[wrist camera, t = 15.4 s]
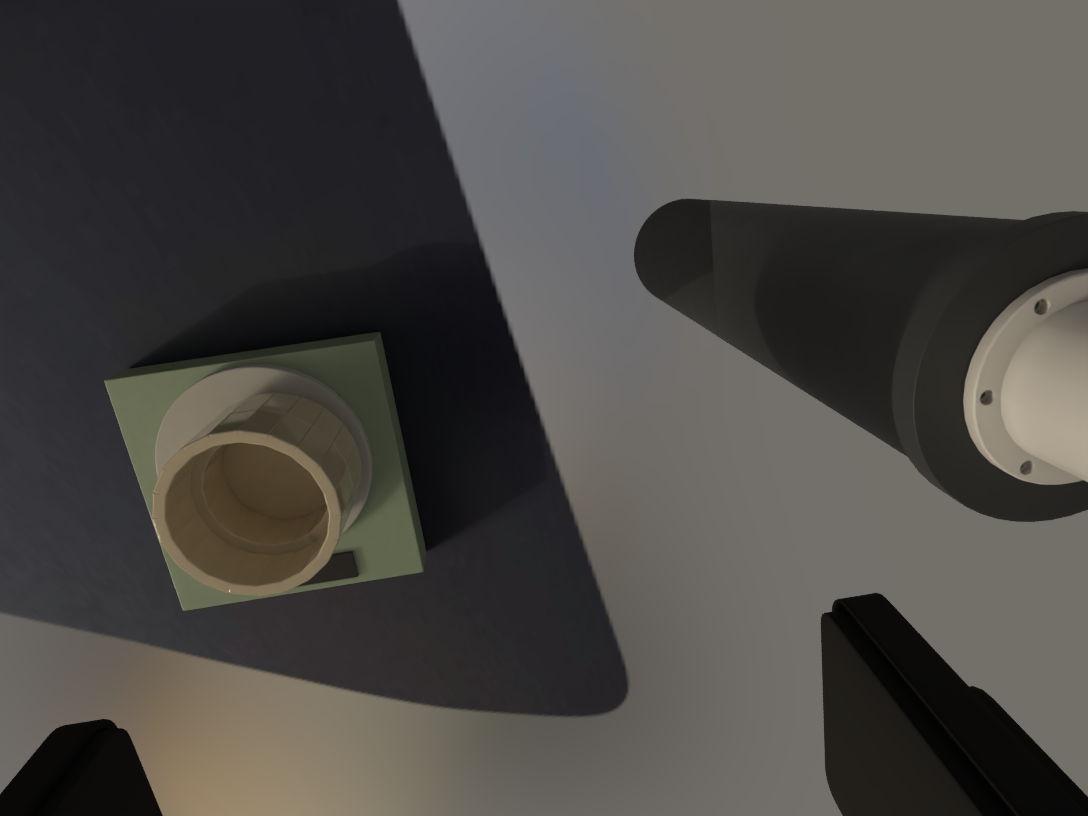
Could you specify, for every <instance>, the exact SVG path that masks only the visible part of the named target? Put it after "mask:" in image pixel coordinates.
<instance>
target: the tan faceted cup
mask: <svg viewBox="0 0 1088 816" xmlns="http://www.w3.org/2000/svg"><path fill="white" fill-rule="evenodd" d="M361 466H362V464H361V460H360V456H359V451H358V447H357V445H356V442H355V440H354V439H353V437H352V435H351V434H350V432H349V431H348V429H347V427H346V426H345V425H344V423H343V422H342V421H341V420H339V419H338V418H337V417H336V416H335V415H334V414H333V413H331V412H330V411H329V410H328V409H327V408H325V407H324V406H322V405H320V404H318V403H315V402H313V401H311V400H309V399H307V398H304V397H302V396H301V397H300V396H296V395H289V394H282V393H267V394H261V395H254V396H250V397H247V398H245V399H243V400H241V401H239V402H237V403H235V404H233V405H231V406H229V407H228V408H226V409H225V410H224V411H223V412H222V413H221V414H219V415H218V416H217V417H216V418H215V419H214V420H213V421H211V422H210V423H209V424H208V425H207V426H206V427H205V428H203V429H202V430H201V431H200V432H199V433H198V434H197V435H196V436H194V437H193V438H192V439H191V440H190V441H189V442H188V443H186V444H185V445H184V446H183V447H182V448H181V449H180V450H179V451H178V452H177V453H176V454H175V455H174V456H173V457H172V458H171V459H170V460H169V461H168V462H167V463H166V465H165V466H164V468H163V469H162V471H161V473H160V476H159V478H158V481H157V483H156V485H155V488H154V491H153V512H152V517H153V522H154V525H155V527H156V530H157V533H158V536H159V539H160V542H161V543H162V546H163V547H164V548H165V550H166V551H167V552H168V554H169V555H170V556H171V558H172V559H173V560H174V562H175V563H176V564H177V565H178V566H179V567H180V568H182V569H183V570H184V571H186V572H187V573H188V574H190V575H191V576H192V577H194V578H195V579H197V580H198V581H199V582H202V584H205V585H208V586H210V587H213V588H215V589H218V590H221V591H223V592H226V593H230V594H239V595H249V596H263V595H270V594H276V593H282V592H285V591H288V590H290V589H292V588H294V587H296V586H298V585H300V584H302V583H304V582H307V581H308V580H310V579H311V578H312V577H313V576H314V575H315V574H316V573H318V572H319V571H320V570H321V569H322V568H323V567H324V566H325V565H326V564H327V563H328V561H329V560H330V558H331V556H332V554H333V552H334V550H335V548H336V546H337V544H338V542H339V540H340V537H341V535H342V532H343V530H344V527H345V525H346V522H347V519H348V517H349V514H350V512H351V509H352V507H353V504H354V502H355V499H356V497H357V494H358V492H359V488H360V482H361V473H362V467H361Z"/></svg>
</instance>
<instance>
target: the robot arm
mask: <svg viewBox="0 0 1088 816" xmlns="http://www.w3.org/2000/svg"><path fill="white" fill-rule="evenodd" d="M963 404H964V415H965V421H966V424H967V428H968V431H969V434H970V437H971V438H972V440H973V442H974V444H975V445H976V447H977V449H978V450H979V452H980V453H981V454H982V455H983V456H984V457H985V458H986V459H987V460H988V461H989V462H990V463H991V464H993V465H995V466H996V467H998V468H999V469H1001V470H1003V471H1004V472H1006V473H1008V474H1010V475H1012V476H1014V477H1016V478H1018V479H1020V480H1023V481H1027V482H1031V483H1036V484H1043V485H1061V484H1067V483H1073V482H1079V481H1082V480H1084V481H1086V482H1088V268H1087V269H1080V270H1073V271H1069V272H1066V273H1063V274H1060V275H1057V276H1054V277H1051V278H1049V279H1047V280H1045V281H1043V282H1041V283H1039V284H1038V285H1036V286H1034V287H1032V288H1030V289H1029V290H1027V291H1026V292H1025V293H1023V294H1022V295H1021V296H1019V297H1018V298H1017V299H1016V300H1014V301H1013V302H1012V303H1010V304H1009V306H1008V307H1007V308H1006V309H1005V310H1004V311H1003V312H1002V313H1001V314H1000V315H999V316H998V317H997V318H996V319H995V320H994V322H993V323H992V324H991V326H990V327H989V329H988V330H987V332H986V333H985V335H984V336H983V337H982V339H981V341H980V343H979V345H978V347H977V349H976V351H975V353H974V355H973V357H972V359H971V362H970V366H969V369H968V373H967V376H966V379H965V388H964V397H963ZM821 643H822V672H823V673H822V676H823V709H824V740H825V770H826V776H827V781H828V784H829V788H830V791H831V793H832V796H833V798H834V800H835V802H836V804H837V806H838V808H839V809H840V811H841V813H842V815H843V816H1088V797H1087V796H1086V795H1085V794H1084V793H1083V791H1082V790H1081V789H1079V787H1078V786H1077V785H1076V784H1075V783H1074V782H1073V781H1072V780H1071V779H1070V778H1069V777H1068V776H1067V775H1066V774H1065V773H1064V772H1063V771H1062V770H1061V769H1060V768H1059V767H1058V765H1057V764H1056V763H1055V762H1054V761H1053V760H1052V759H1051V758H1050V757H1049V756H1048V755H1047V754H1046V753H1045V752H1044V751H1043V750H1042V749H1041V748H1040V747H1039V746H1038V745H1037V744H1036V743H1035V742H1034V741H1033V740H1032V738H1031V737H1030V736H1029V735H1028V734H1026V732H1025V731H1024V730H1023V729H1022V728H1021V727H1020V726H1019V725H1018V724H1017V723H1016V722H1015V721H1014V720H1013V719H1012V718H1011V717H1010V716H1009V715H1008V714H1007V712H1006V711H1005V710H1004V709H1003V708H1002V707H1001V706H1000V705H999V704H998V703H997V702H996V701H995V700H994V699H993V698H992V697H991V696H989V695H988V694H987V693H986V692H985V691H983V690H982V689H979V688H976V687H974V686H971V687H969V686H968V685H967V684H966V683H965V682H964V681H963V680H962V679H961V678H960V677H959V676H958V675H957V674H956V672H954V670H953V669H952V668H951V667H950V666H949V665H948V664H947V663H946V662H945V661H944V660H943V659H942V658H941V657H940V655H939V654H938V653H937V652H936V651H935V650H934V649H933V648H932V647H931V646H930V645H929V644H928V643H927V641H926V640H925V639H924V638H923V637H922V636H921V635H920V634H919V633H918V632H917V631H916V630H915V629H914V628H913V627H912V625H911V624H910V623H909V622H908V621H907V620H906V619H905V618H904V617H903V616H902V615H901V614H900V613H899V612H898V611H897V609H896V608H895V607H894V606H893V605H892V604H891V603H890V602H889V601H888V600H887V599H886V598H885V597H884V596H883V595H881V594H878V593H873V594H867V595H861V596H855V597H849V598H844V599H837V600H836V601H834V603H833V606H832V612H828V613H824V614H822V617H821ZM0 816H162V813H161V811H160V808H159V806H158V803H157V801H156V798H155V796H154V794H153V791H152V789H151V787H150V784H149V781H148V779H147V777H146V774H145V772H144V769H143V767H142V764H141V762H140V760H139V757H138V755H137V752H136V750H135V747H134V745H133V743H132V740H131V738H130V736H129V734H128V732H127V731H126V730H124V729H121V728H117V726H116V725H115V723H113V722H112V721H111V720H107V719H101V720H95V721H89V722H82V723H77V724H70V725H64V726H61V727H59V728H56V729H55V730H54V731H53V732H52V733H51V734H50V735H49V736H48V737H47V738H46V740H45V741H44V742H43V743H42V745H41V746H40V747H39V748H38V749H37V750H36V752H35V753H34V754H33V755H32V756H31V758H30V759H29V760H28V761H27V763H26V764H25V765H24V766H23V767H22V769H21V770H20V771H19V772H18V773H17V775H16V776H15V777H14V778H13V779H12V781H11V782H10V783H9V784H8V786H7V787H6V788H5V789H4V790H3V792H2V793H1V794H0Z"/></svg>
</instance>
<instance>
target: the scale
mask: <svg viewBox="0 0 1088 816" xmlns="http://www.w3.org/2000/svg"><path fill="white" fill-rule="evenodd" d="M104 382H105V385H106V388H107V391H108V394H109V397H110V400H111V403H112V406H113V408H114V411H115V414H116V417H117V420H118V423H119V426H120V429H121V432H122V435H123V438H124V440H125V443H126V446H127V449H128V452H129V455H130V458H131V461H132V464H133V467H134V470H135V472H136V475H137V478H138V481H139V484H140V487H141V490H142V493H143V496H144V499H145V502H146V504H147V507H148V510H149V513H150V516H151V519H152V522H153V517H152V512H153V491H154V488H155V485H156V483H157V481H158V478H159V476H160V473H161V471H162V469H163V468H164V466H165V465H166V463H167V462H168V461H169V460H170V459H171V458H172V457H173V456H174V455H175V454H176V453H177V452H178V451H179V450H180V449H181V448H182V447H183V446H184V445H185V444H186V443H188V442H189V441H190V440H191V439H192V438H193V437H194V436H196V435H197V434H198V433H199V432H200V431H201V430H202V429H203V428H205V427H206V426H207V425H208V424H209V423H210V422H211V421H213V420H214V419H215V418H216V417H217V416H218V415H219V414H221V413H222V412H223V411H224V410H225V409H226V408H228V407H229V406H231V405H233V404H235V403H237V402H239V401H241V400H243V399H245V398H247V397H250V396H254V395H261V394H267V393H282V394H289V395H296V396H300V397H301V396H302V397H304V398H307V399H309V400H311V401H313V402H315V403H318V404H320V405H322V406H324V407H325V408H327V409H328V410H329V411H330V412H331V413H333V414H334V415H335V416H336V417H337V418H338V419H339V420H341V421H342V422H343V423H344V425H345V426H346V427H347V429H348V431H349V432H350V434H351V435H352V437H353V439H354V440H355V442H356V445H357V447H358V451H359V456H360V460H361V464H362V466H361V467H362V473H361V482H360V488H359V492H358V494H357V497H356V499H355V502H354V504H353V507H352V509H351V512H350V514H349V517H348V519H347V522H346V525H345V527H344V530H343V532H342V535H341V537H340V540H339V542H338V544H337V546H336V548H335V550H334V552H333V554H332V556H331V558H330V560H329V561H328V563H327V564H326V565H325V566H324V567H323V568H322V569H321V570H320V571H319V572H318V573H316V574H315V575H314V576H313V577H312V578H311V579H310V580H308V581H307V582H304V583H302V584H300V585H298V586H296V587H294V588H292V589H290V590H288V591H285V592H282V593H276V594H270V595H263V596H249V595H239V594H230V593H226V592H223V591H221V590H218V589H215V588H213V587H210V586H208V585H205V584H202V582H199V581H198V580H197V579H195V578H194V577H192V576H191V575H190V574H188V573H187V572H186V571H184V570H183V569H182V568H180V567H179V566H178V565H177V564H176V563H175V562H174V560H173V559H172V558H171V556H170V555H169V554H168V552H167V551H166V550H165V548H164V547H163V546H162V543H161V542H160V539H159V536H158V533H157V530H156V527H155V525H154V522H153V525H154V528H155V531H156V534H157V536H158V539H159V542H160V545H161V548H162V551H163V554H164V557H165V560H166V563H167V566H168V568H169V571H170V574H171V577H172V580H173V583H174V586H175V589H176V592H177V595H178V598H179V600H180V603H181V606H182V609H183V611H186V610H192V609H198V608H204V607H210V606H216V605H222V604H229V603H235V602H241V601H247V600H253V599H259V598H265V597H272V596H278V595H284V594H290V593H296V592H302V591H308V590H315V589H321V588H327V587H333V586H339V585H345V584H351V583H358V582H364V581H370V580H376V579H382V578H388V577H394V576H401V575H407V574H413V573H419V572H423V571H424V565H425V558H426V548H425V543H424V538H423V533H422V528H421V524H420V519H419V514H418V509H417V505H416V500H415V495H414V490H413V486H412V481H411V476H410V471H409V466H408V462H407V457H406V452H405V447H404V443H403V438H402V433H401V428H400V423H399V419H398V414H397V409H396V404H395V400H394V395H393V390H392V385H391V381H390V376H389V371H388V366H387V361H386V357H385V352H384V347H383V342H382V338H381V333H380V332H374V333H367V334H361V335H354V336H347V337H340V338H334V339H327V340H320V341H313V342H307V343H300V344H293V345H286V346H279V347H273V348H266V349H259V350H252V351H246V352H239V353H232V354H225V355H218V356H212V357H205V358H198V359H191V360H185V361H178V362H171V363H164V364H158V365H151V366H144V367H137V368H130V369H125V370H123V371H121V372H119V373H117V374H115V375H114V376H112V377H110V378H108V379H106V380H104Z"/></svg>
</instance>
